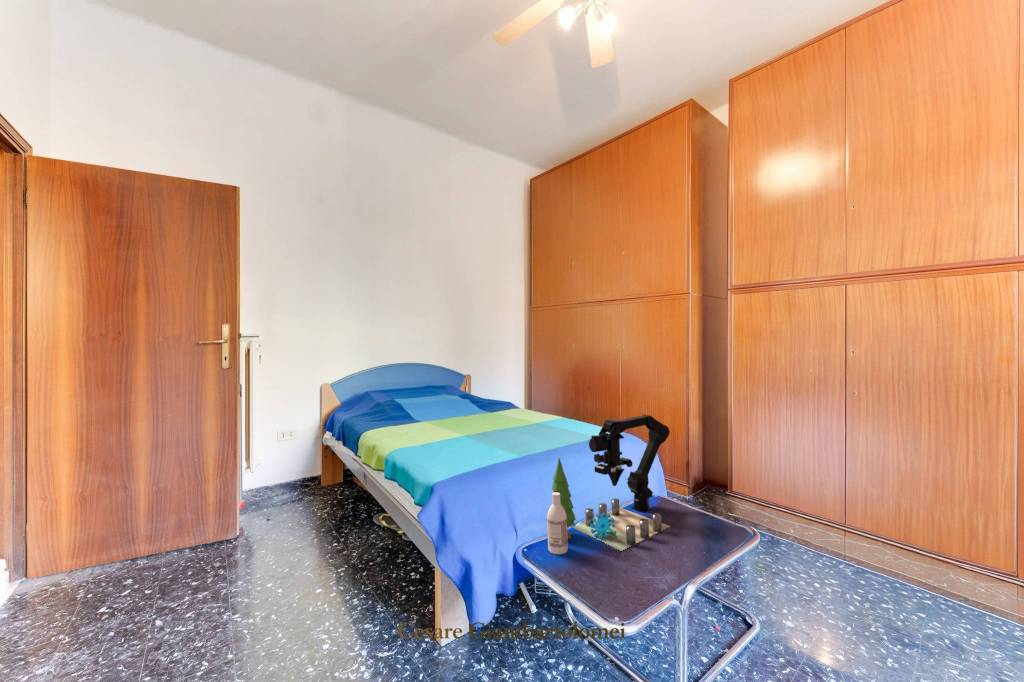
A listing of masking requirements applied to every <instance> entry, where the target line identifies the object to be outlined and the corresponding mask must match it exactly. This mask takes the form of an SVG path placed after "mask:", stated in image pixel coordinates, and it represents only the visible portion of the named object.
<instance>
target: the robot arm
mask: <svg viewBox="0 0 1024 682" xmlns="http://www.w3.org/2000/svg"><path fill="white" fill-rule="evenodd" d="M643 426H645V427H646V429H648V433H647V434H648V443H647V444H646V446H645V449H644V452H643V454H642V457H641V459H640V462H639V464H638V466H637V469H636V470H635V471H630V472H629V476H628V477H627V479H626V480H627V482H626V483H627V484H626V485H627V486H628V489H630V493H631V494H633V505H632V506H631V509H633V510H635V509H636V511H638V510H639V511H638V512H641V511H642V512H641V513H646V512H648V511H651V510H653V507H652V506H650V498H652V497H653V493H654V492H653V490H651V489H650V487H649V474H650V471H651V469H652V466H653V464H654V461H655V459H656V456H657V454H658V451H659V449H660V446H661V445H662V444H664V443H665V442H666V441H667V439H668V437H669V435H670V432H671V431H670V428H669V427H668V426H667V425H666V424H663V423H662V422H660V421H659V420H657V419H655V417H653V416H652V415H648V414H642V415H639V416H634V417H630V418H625V419H614V418H613V419H611V418H610V419H609V418H608V419H606V420H605V421H604V423H603V425H602V427H601V428H600V431H599V432H598V435H591V436H590V437H591V438H590V439H589V441H588V447H589V449H590V451H591V452H592V453H596V452H603V454H600V453H596V454H594V455H593V460H594V463H597V464H596V465H595V466H594V468H593V469H594V473H597V474H601V475H604V476H607V475H608V477H609V479H610V481H611V484H612V486H613V487H616V486H617V485H618V482H619V480H620V478H621V476H622V475H623V473H624V472H625V468H623V467H622V466H625V465H626V467H627V468H631V467H633V461H632V460H631V459H630V458H626V457H621V455H623V452H622V451H621V442H620V440H621V439H624V438H625V436H623V435H622V434H623V433H624V432H625V431H626V430H630V429H634V428H639V427H643ZM650 509H651V510H650ZM645 511H646V512H645Z"/></svg>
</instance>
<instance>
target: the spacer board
mask: <svg viewBox="0 0 1024 682" xmlns="http://www.w3.org/2000/svg"><path fill="white" fill-rule="evenodd" d="M619 510H620V515H619V516H614V515H612V511H610V512H607V514H608V513H609V514H610V515H611V517H610V518H612V517H613V518H614V522H612V521H610V522H609V523H614V524H615V527H614V528H613V527H612V526H611V525H610V529H612V530H615V531H616V532H617V533H616V536H617V538H616V537H615V536H612V535H611V534H609V533H608V535H609V537H608V538H606V537H605V534H606V533H604V535H603V539H600V538H599V536H600V535H601V534H602V533H601V534H599V535H598V537H597V538H596V537H595V536H594V534H595V533H598V532H595V533H593V534H592V533H591V529H593V530H595V529H596V528H591V527H589V526H586V523H584V522H582V523H583V524H582V523H579V524H577V525H575V526H574V525H573V526H571V528H572V529H573V528H574V529H573V530H575V529H576V530H575V531H577V530H578V531H577V532H579V531H580V532H579V533H581V532H582V533H581V534H583V533H584V534H583V535H585V534H586V535H585V536H587V535H589V536H591V537H593V538H595V539H597V540H600V541H601V540H602V542H604V543H605V544H604V545H606V544H607V545H606V546H608V545H610V546H612V547H614V548H615V549H614V548H613V549H614V550H616V549H617V550H616V551H618V550H619V551H618V552H620V551H622V552H624V551H626V550H628V549H630V548H632V547H631V546H630V545H628V544H627V540H626V526H627V525H633V526H635V535H636V545H638V544H640V543H641V541H642V542H644V541H646V540H645V539H643V538H641V537H640V519H647V520H648V521H649V538H648V539H650V538H652V537H654V536H656V535H657V533H658V534H660V533H659V532H654V531H653V521H652V518H649V517H646V516H643V515H641V514H638V513H636V512H633V511H630V510H627V509H625V508H623V507H619ZM594 518H595V519H596V521H597V517H594ZM610 518H607V519H610ZM594 526H595V522H594ZM661 527H662V532H663V530H664V531H666V530H668V529H670V528H671V526H670V525H668V524H665V523H663V522H661ZM669 527H670V528H669ZM667 528H668V529H667ZM665 529H666V530H665ZM589 536H588V537H589ZM591 537H590V538H591ZM593 538H592V539H593ZM595 539H594V540H595ZM597 540H596V541H597ZM605 540H606V541H605ZM613 540H614V541H613ZM643 540H644V541H643ZM639 542H640V543H639ZM637 543H638V544H637ZM610 546H609V547H610ZM612 547H611V548H612ZM629 547H630V548H629ZM627 548H628V549H627ZM625 549H626V550H625ZM623 550H624V551H623Z"/></svg>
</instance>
